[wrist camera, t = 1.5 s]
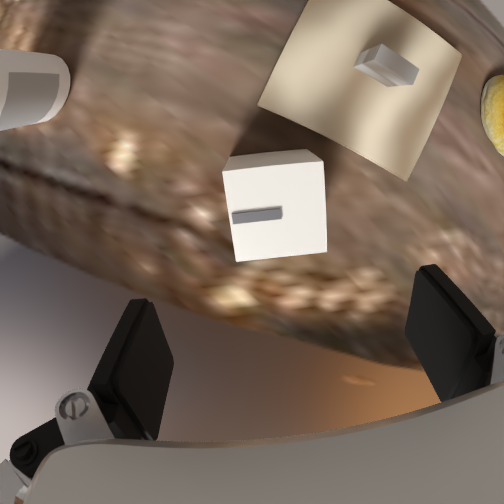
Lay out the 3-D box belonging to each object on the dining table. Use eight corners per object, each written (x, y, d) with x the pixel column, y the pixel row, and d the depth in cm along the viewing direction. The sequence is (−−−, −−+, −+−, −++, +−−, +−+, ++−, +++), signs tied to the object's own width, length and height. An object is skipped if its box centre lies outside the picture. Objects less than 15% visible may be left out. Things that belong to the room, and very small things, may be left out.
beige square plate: (453, 56, 20) (492, 51, 14) (399, 177, 25) (431, 196, 20) (322, -26, 17) (339, -55, 12) (257, 105, 23) (258, 103, 18)
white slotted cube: (306, 148, 24) (324, 161, 19) (311, 220, 27) (327, 253, 21) (229, 156, 25) (222, 172, 19) (239, 228, 28) (236, 262, 22)
